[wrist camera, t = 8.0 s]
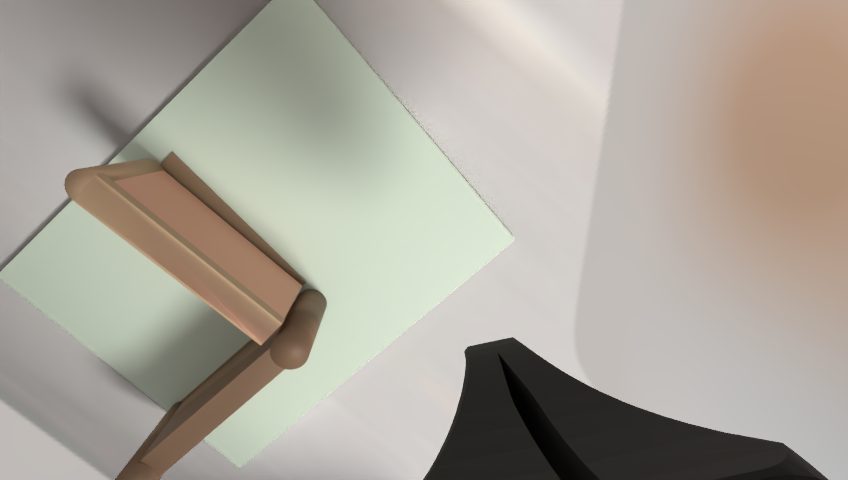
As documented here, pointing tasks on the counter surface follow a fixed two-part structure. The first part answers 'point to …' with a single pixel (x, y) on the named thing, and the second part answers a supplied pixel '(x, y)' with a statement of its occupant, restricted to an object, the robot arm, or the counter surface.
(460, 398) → the robot arm
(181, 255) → the hinged panel
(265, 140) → the card
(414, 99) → the counter surface
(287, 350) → the fence fixed
